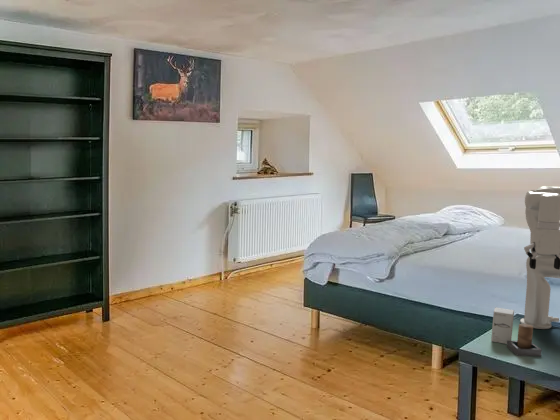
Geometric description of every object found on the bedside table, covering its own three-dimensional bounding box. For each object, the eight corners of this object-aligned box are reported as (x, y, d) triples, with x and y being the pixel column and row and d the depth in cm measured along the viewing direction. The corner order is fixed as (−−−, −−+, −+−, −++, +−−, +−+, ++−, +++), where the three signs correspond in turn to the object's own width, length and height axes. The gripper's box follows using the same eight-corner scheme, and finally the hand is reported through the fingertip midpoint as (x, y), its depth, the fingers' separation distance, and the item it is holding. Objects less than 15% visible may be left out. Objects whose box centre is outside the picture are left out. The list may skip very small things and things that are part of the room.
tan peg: (526, 348, 207) (529, 324, 206) (533, 353, 202) (535, 328, 201) (514, 348, 207) (516, 323, 205) (520, 353, 202) (522, 328, 200)
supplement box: (490, 341, 214) (492, 311, 212) (492, 336, 220) (494, 306, 219) (510, 345, 210) (512, 314, 209) (512, 339, 217) (514, 309, 215)
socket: (529, 347, 209) (529, 340, 208) (541, 355, 200) (541, 349, 199) (506, 346, 208) (507, 340, 208) (517, 355, 200) (518, 349, 199)
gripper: (564, 225, 213) (560, 267, 215) (521, 224, 212) (518, 266, 214) (575, 227, 206) (571, 271, 207) (531, 226, 205) (527, 270, 207)
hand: (544, 268), depth 211 cm, fingers open, 9 cm apart
